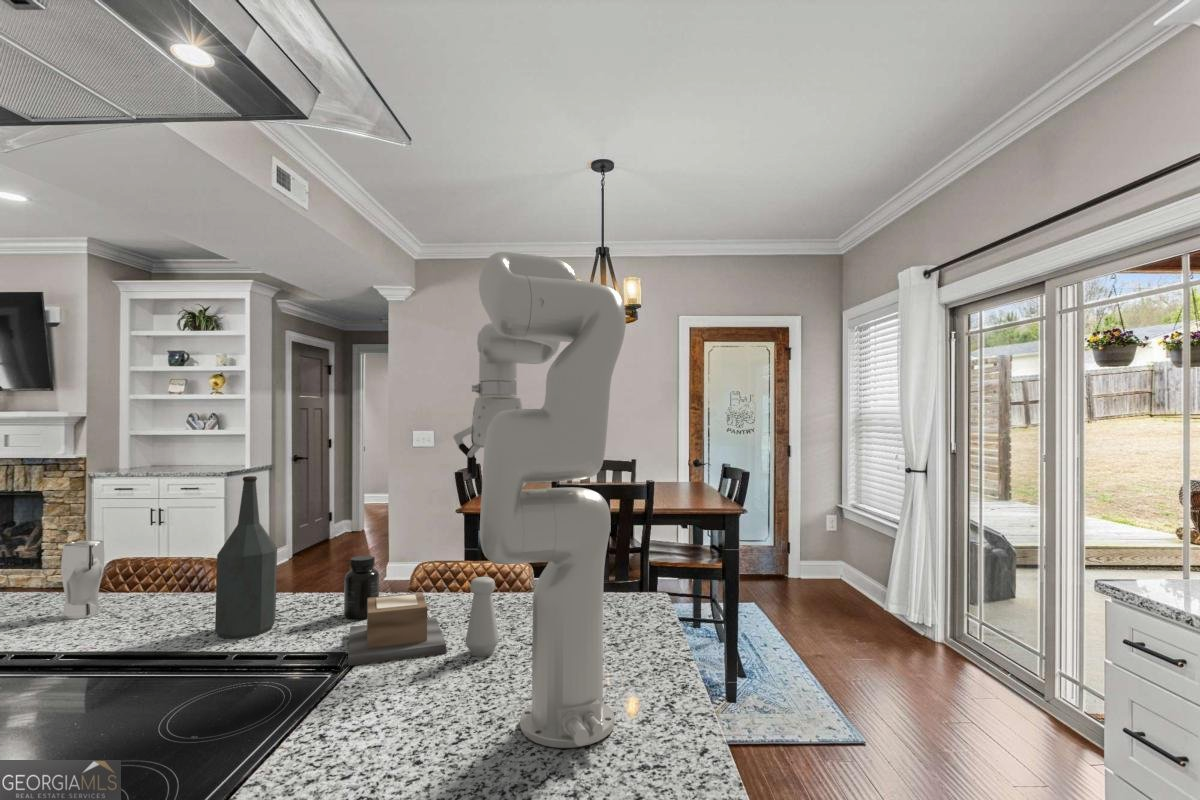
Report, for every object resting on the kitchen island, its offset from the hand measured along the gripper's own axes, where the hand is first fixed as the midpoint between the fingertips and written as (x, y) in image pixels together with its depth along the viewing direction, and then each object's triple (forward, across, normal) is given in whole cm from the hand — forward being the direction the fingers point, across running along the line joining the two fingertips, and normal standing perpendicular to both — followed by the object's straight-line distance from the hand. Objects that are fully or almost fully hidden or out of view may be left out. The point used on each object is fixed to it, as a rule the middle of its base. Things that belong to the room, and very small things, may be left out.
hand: (497, 476), depth 122 cm
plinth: (+30, -19, -2) cm, 35 cm away
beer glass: (+30, -80, +38) cm, 94 cm away
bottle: (+30, -46, +15) cm, 57 cm away
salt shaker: (+30, -5, -12) cm, 33 cm away
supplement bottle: (+30, -25, +18) cm, 43 cm away
